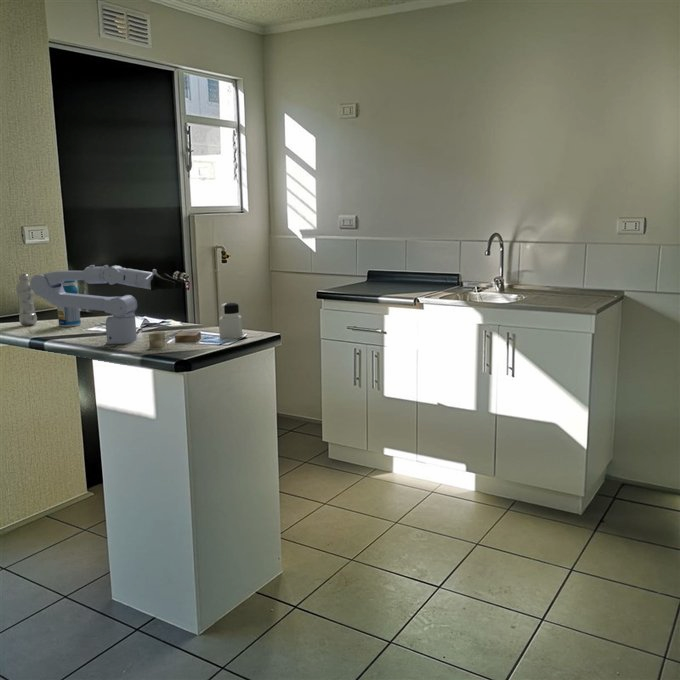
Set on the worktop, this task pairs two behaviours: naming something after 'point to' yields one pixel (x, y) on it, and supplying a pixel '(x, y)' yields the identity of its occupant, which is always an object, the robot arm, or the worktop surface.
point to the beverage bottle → (67, 314)
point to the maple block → (157, 339)
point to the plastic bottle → (26, 301)
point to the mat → (186, 343)
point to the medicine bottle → (230, 321)
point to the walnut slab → (187, 337)
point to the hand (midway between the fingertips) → (178, 285)
